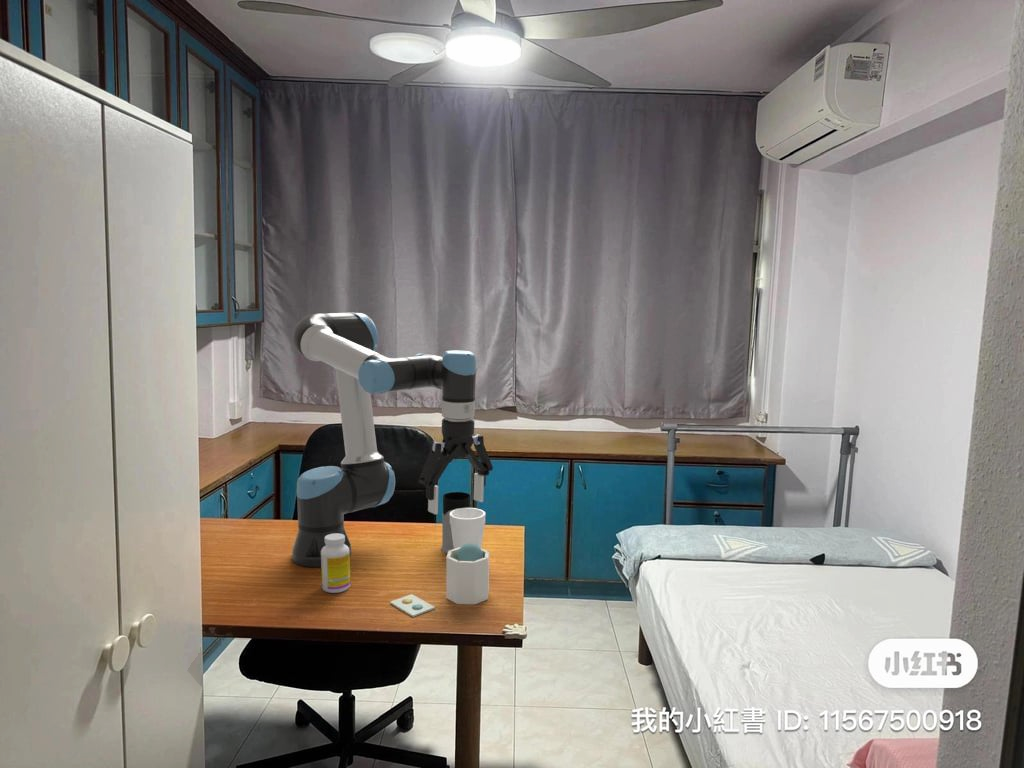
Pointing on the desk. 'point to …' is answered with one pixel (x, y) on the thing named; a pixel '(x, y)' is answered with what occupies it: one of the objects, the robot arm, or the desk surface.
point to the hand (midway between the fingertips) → (456, 506)
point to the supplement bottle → (335, 564)
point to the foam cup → (467, 526)
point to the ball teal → (469, 552)
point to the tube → (467, 578)
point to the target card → (412, 605)
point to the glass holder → (449, 504)
